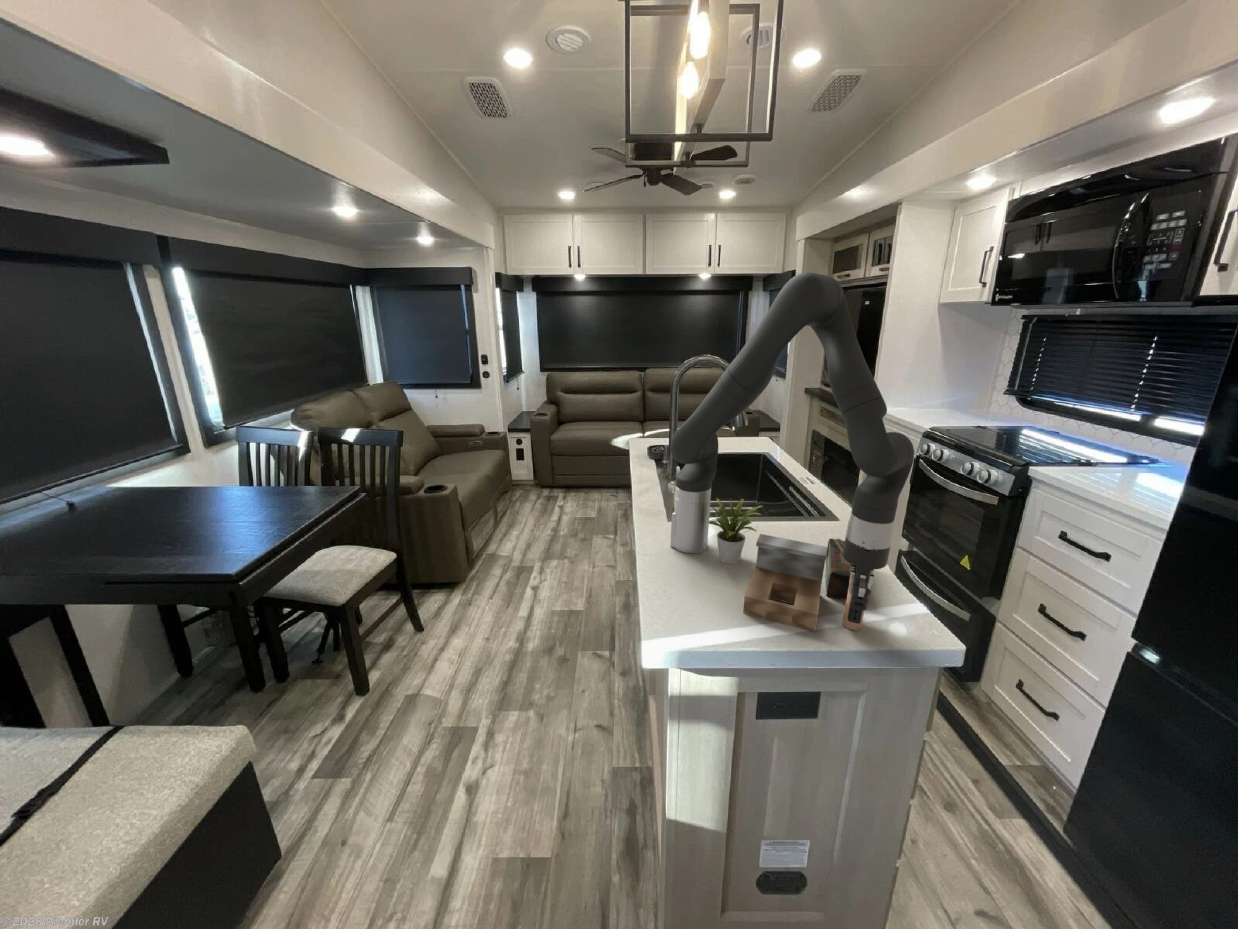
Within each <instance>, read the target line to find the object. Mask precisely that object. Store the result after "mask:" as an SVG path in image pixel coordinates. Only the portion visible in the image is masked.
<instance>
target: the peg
mask: <svg viewBox="0 0 1238 929" xmlns="http://www.w3.org/2000/svg"><path fill="white" fill-rule="evenodd" d="M850 581H851V579H850ZM849 587H850V583H849ZM853 588H854V584H853ZM850 599H851V594H850V593H849V589H848V594H847V600H845V606H844V611H843V612H844V613H843V618H842V622H841V623H842V625H843V626H844V627H845V628H846V629H848V630H852V631H860V630H861V629H862V625H863V620H864V617H865V611H863V610H862V615H861V620H860V623H859V624H857V623H853V622H849V621H848V612H849V607H850V603H849V601H850Z"/></svg>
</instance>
